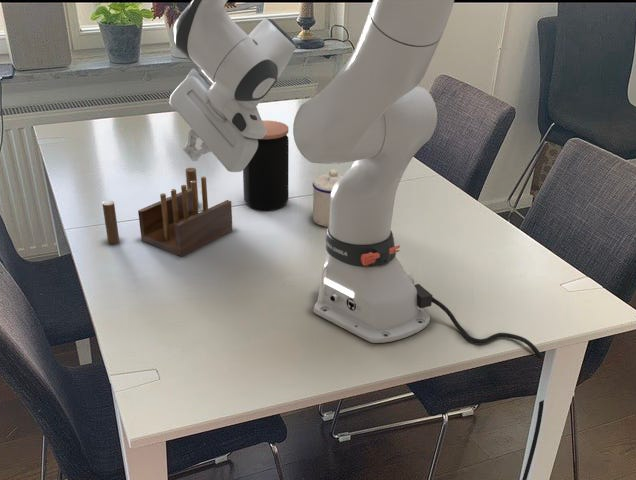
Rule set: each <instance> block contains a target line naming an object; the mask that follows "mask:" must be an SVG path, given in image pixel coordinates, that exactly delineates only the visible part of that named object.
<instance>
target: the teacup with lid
mask: <svg viewBox="0 0 636 480" xmlns="http://www.w3.org/2000/svg"><path fill="white" fill-rule="evenodd" d="M342 176H343V175H342V174H340V173H339V171H338V169H330V170H329V171H328V173H326V174H323V175H319V176H316V177H315V178H314V179H313V181H312V188H313V190H312V191H313V194H312V195H313V196H312V197H313V200H312V220H313V222H314V223H316V224H317V225H319V226H322V227H324V228H328V227H329V221H330V195H331V191H332V188H333V186H334V184H335V183H336V182H337V180H338V179H339V178H340V177H342Z"/></svg>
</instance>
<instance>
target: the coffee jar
mask: <svg viewBox="0 0 636 480" xmlns="http://www.w3.org/2000/svg"><path fill="white" fill-rule="evenodd" d="M261 120H262V122H263V124H264V126H265V128H266V132H267V133H266V135H265V137H264V138H262V139H257V140H258V148H257V150H256V152H255V154H254V156H253V157H252V159H251V160H250V162H249V163H248V165H247V166H246V167H245V168H244V170H242V177H243V178H242V182H243V200H244V202H245V204H246V205H247V206H248V207H249V208H251V209H254V210H257V211H274V210H279V209H281V208H283V207H285V205H286V204H287V203H288V201H289V163H290V162H289V161H290V160H289V153H290V152H289V150H290V149H289V148H290V147H289V146H290V145H289V144H290V143H289V141H290V140H289V136H288V134H289V126H288V124H287V123H286V124H285V123H284V122H280V121H277V120H267V119H266V120H263V119H261Z"/></svg>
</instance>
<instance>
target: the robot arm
mask: <svg viewBox="0 0 636 480" xmlns="http://www.w3.org/2000/svg"><path fill="white" fill-rule="evenodd" d="M228 1H229V0H191V1H190V2H189V3H188V5H187V6H186V7H185V8H184V10H182V12H181V13H180V15H179V16H178V17H177V19H176V20H175V22H174V25H173V37H174V44H175V48H176V50H178V51H179V52H180V53H181V54H182V55H184V57H186V58H187V59H188V60H190V62H193V63H194V64H195V65H196V66H197V67H193V68H192V69H191V70H190V71H189V72H188V74H187V75H186V78H185V79H184V80H183V81H182V82H180V84H179V85H178V86H177V87H176V88H175V90H174V91H173V92H172V93H171V94H170V97H169V104H170V106H171V107H172V108H173V109H174V110H175V112H176V113H177V114H178V115H179V116H180V118H182V119H183V120H184V122H185V123H186V124H187V126H189V128H190V130H189V131H188V134H187V142H186V145H185V146H184V148H183V151H184V153H185V154H186V155H187V156H188V158H190V160H191V161H192V162H197V161H198V160H199V159H200V157H201V156H202V155H206V154H209V153H212V155H214V156H215V158H216V159H217V160H218V161H219V162H220V164H221V165H222V166H223V167H224V168H225V169H226V170H227V172H229V173H241V172H243V170H244V168H245V167H246V166H247V165H248V163H249V162H250V160H251V159H252V157H253V156H254V154H255V152H256V150H257V148H258V140H257V139H262V138H264V137H265V135H266V133H267V132H266V128H265V126H264V124H263V122H262V120H263V119H262V117H261V115H260V112H259V110H258V105H259V104H260V103H261V100H262V99H263V98H264V97H266V96H267V94H268V93H269V92H270V91H271V89H272V88H273V87H274V85H276V83H277V82H278V79H279V78H280V76H281V75H282V73H283V71H284V70H285V68H286V67H287V66H288V63H289V62H290V60H291V59H292V57H293V54H294V53H295V51H296V43H295V41H294V40H293V39H292V37H290V35H289V34H287V32H286V31H285V30H283V28H281V27H280V26H279V25H278V24H277V23H276V21H274V20H273V19H271V18H267V17H265V18H263V19H262V20H261V21H260V22H259V23H258V24H257V25H256V26H255V27H254V28H253V30H252V31H251V32H250V33H249V34H247V33H246V32H245V31H244V30H243V28H241V27H240V26H239V25H238V24H237V23H236V22H235V21H234V20H233V19H232V17H231V16H230V15H229V14H228V12H227V10H226V7H225V5H226V3H227V2H228ZM454 3H455V0H372V2H371V5H370V8H369V11H368V13H367V15H366V20H365V23H364V25H363V27H362V30H361V33H360V36H359V38H358V41H357V43H356V45H355V47H354V50H353V52H352V54H351V55H350V56H349V58H348V60H347V61H346V63H345V64H344V66H343V67H342V68H341V69H340V71H338V73H337V74H336V75H335V77H334V78H333V79H332V80H331V81H330V82H329V83H328V84H327V85H326V86H325V87H324V88H323V89H322V90H321V91H319V92H318V93H317V94H316V95H314V96H313V97H312V98H310V99H308V100H307V101H305V102H303V103H302V104H301V105H300V106H299V107H298V109H297V112H296V113H295V116H294V119H293V123H292V124H293V125H292V136H293V140H294V143H295V146H296V148H297V150H298V151H299V153H300V154H301V156H302V157H303V158H304V159H305V160H307V162H310V163H312V164H324V165H340V164H346V163H350V162H353V163H352V165H351V166H350V168H349V169H348V170H347V171H345V172H344V174H343V175H342V177H340V178H339V179H338V180H337V182H336V183H335V184H334V186H333V188H332V191H331V195H330V221H329V227H327V229H326V236H325V250H326V252H327V253H326V257H325V261H324V264H323V267H322V269H321V276H320V283H319V290H318V294H317V301H316V302H315V304H314V306H313V313H314V314H315V315H317V316H319V317H321V318H323V319H325V320H327V321H329V322H330V323H332V324H334V325H337V326H338V327H340V328H342V329H344V330H346V331H348V332H350V333H351V334H353V335H355V336H358V337H360V338H361V339H363V340H365V341H366V342H369V343H372V344H383V343H391V342H395V341H398V340H402V339H405V338H408V337H410V336H413V335H416V334H417V333H419V332H421V331H422V330H425V328H426V327H427V326H428V325H429V323H430V322H431V317H430V314H428V312H426V311H425V310H424V308H428V307H432V303H433V304H434V305H436V306H437V307H439V308H440V309H441V310H442V311H444V313H445V314H446V315H447V316H448V317H449V319H450V320H451V322H452V323H453V325H454V327H455V328H456V329H457V330H458V331H459V333H461V335H462V336H463V337H464V338H465V339H466V340H467V341H469V342H471V343H474V344H487V343H489V342H491V341H493V340H495V339H497V338H507V339H512V340H515V341H519V342H522V343H523V344H525V345H527V346H528V348H530V350H531V351H532V352H533V353H534V354H535V356H536V357H537V358H538V359H540V360H543V359H544V357H543V355H542V353H541V352H540V350H539V349H538V348H537V346H535V344H534V343H533V342H531V341H530V340H529V339H527V338H525V337H523V336H521V335H518V334H514V333H510V332H509V333H508V332H497V333H494V334H492V335H490V336H488V337H485V338H476V337H473V336H471V335H470V334H468V332H467V331H466V330H465V329H464V327H463V326H461V324H460V323H459V321H458V320H457V319H456V317H455V315H454V314H453V313H452V312H451V310H450V309H449V308H448V307H447V306H446V305H444V304H443V303H442V302H441V301H439V300H438V299H437V298H434V296H433V294H432V293H430V291H428V290H427V289H426V288H424V286H422V285H421V284H420V283H415V278H414V276H413V275H412V274H408V273H407V272H406V270H405V269H404V267H403V265H402V263H400V261H399V259H398V258H397V253H398V252H401V250H400V249H399V248H401V245H395V239H394V234H393V230H392V221H393V212H394V205H395V199H396V194H397V191H398V187H399V186H400V185H399V184H400V182H401V179H402V178H403V175H404V173H405V171H406V169H407V168H408V166H409V164H410V163H411V161H412V159H413V158H414V157H415V155H416V154H417V153H418V152H419V150H420V149H421V148H422V147H423V146H424V145H425V144H426V143H428V142H429V141H430V140H431V138H432V137H433V135H434V133H435V130H436V129H437V123H438V108H437V105H436V102H435V100H434V98H433V96H432V94H431V93H430V92H429V91H428V90H427V89H426V88H425V87H423V86H418V85H419V84H420V83H421V82H422V80H423V79H424V77H425V75H426V73H427V71H428V68H429V66H430V64H431V61H432V60H433V57H434V54H435V52H436V49H437V48H438V46H439V43H440V41H441V39H442V36H443V34H444V31H445V29H446V27H447V24H448V22H449V19H450V16H451V13H452V9H453V6H454ZM197 139H200V140H201V142H202V143H201V144H200V148H199V149H198V148H197V147H196V144H197ZM544 403H545V399H543V400H540V401H539V402H538V410H537V417H536V423H535V428H534V433H533V438H532V442H531V446H530V450H529V453H528V454H529V455H528V457H527V461H526V465H525V468H524V472H523V475H522V479H521V480H528V476H529V473H530V470H531V466H532V462H533V459H534V454H535V451H536V447H537V443H538V439H539V435H540V430H541V425H542V420H543V419H542V418H543V412H544V405H545V404H544Z"/></svg>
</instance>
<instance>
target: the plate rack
mask: <svg viewBox="0 0 636 480" xmlns="http://www.w3.org/2000/svg"><path fill="white" fill-rule="evenodd" d="M200 185H201V198H202V200H201V201H202V202H201V203H202V211H200V212H199V206H198V204H199V197H198V198H197V190H198V183H197V184H196V181H191V187H192V188H190V189H187V184H181V185H180V189H181V191H180V192H178V193H177V189H175V188H172V189H170V196H168V197H167V195H166V193H160V194H159V199H160V200H159V201H156V202H154V203H152V204H150V205H147V206H144V207H143V208H140V209H138V210H137V215H138V222H139V230H140V231H139V232H140V239H141V241H142V242H145V243H147V244H149V245H152V246H155V247H156V248H159V249H161V250H164V251H166V252H169V253H172V254H174V255H176V256H179V257H183V256H186V255H188V254H190V253H192V252H193V251H196V250H198V249H199V248H201V247H204V246H205V245H207V244H210V243H211V242H213V241H216V240H217V239H219V238H221V237H223V236H226V235H227V234H229V233H231V232H233V209H232V207H233V206H232V201H231V200H228V199H226V200H224V201H222V202H219V203H218V204H215V205H212V206H211V207H209V206H208V205H209V204H208V201H209V200H208V188H207V187H208V186H207V177H206V176H201V177H200Z"/></svg>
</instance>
